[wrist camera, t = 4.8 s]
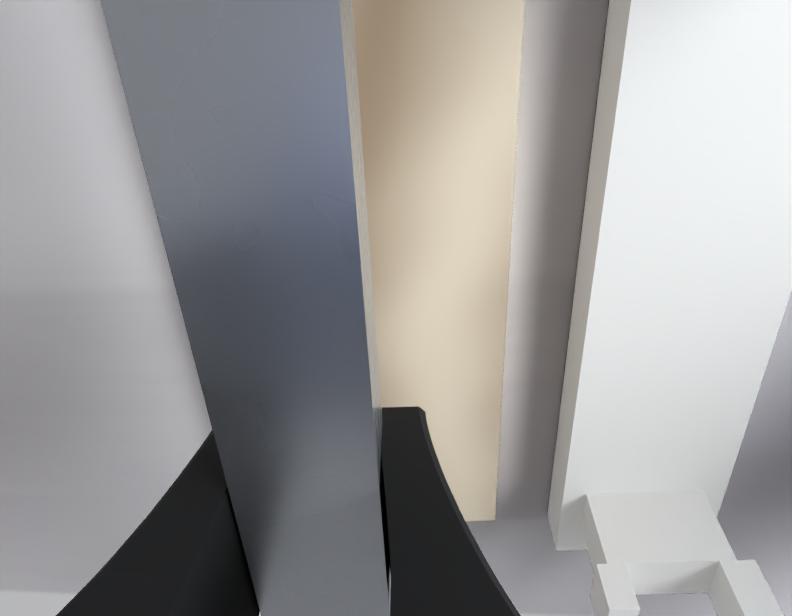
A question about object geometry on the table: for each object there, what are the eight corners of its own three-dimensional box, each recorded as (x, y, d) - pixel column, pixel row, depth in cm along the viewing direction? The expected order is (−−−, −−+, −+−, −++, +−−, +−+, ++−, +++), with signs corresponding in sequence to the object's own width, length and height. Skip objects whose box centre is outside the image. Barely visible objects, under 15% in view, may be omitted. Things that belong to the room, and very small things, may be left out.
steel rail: (293, -790, 4) (252, -1067, 3) (409, 794, 18) (410, 870, 16) (-2, -765, 5) (-168, -1029, 3) (333, 796, 18) (328, 872, 16)
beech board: (530, -252, 12) (539, -261, 11) (491, 497, 23) (495, 520, 22) (94, -229, 12) (74, -235, 12) (260, 503, 23) (255, 527, 23)
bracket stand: (944, -351, 12) (1503, -569, 6) (690, 510, 24) (787, 723, 18) (649, -334, 12) (902, -531, 6) (547, 514, 24) (596, 727, 18)
